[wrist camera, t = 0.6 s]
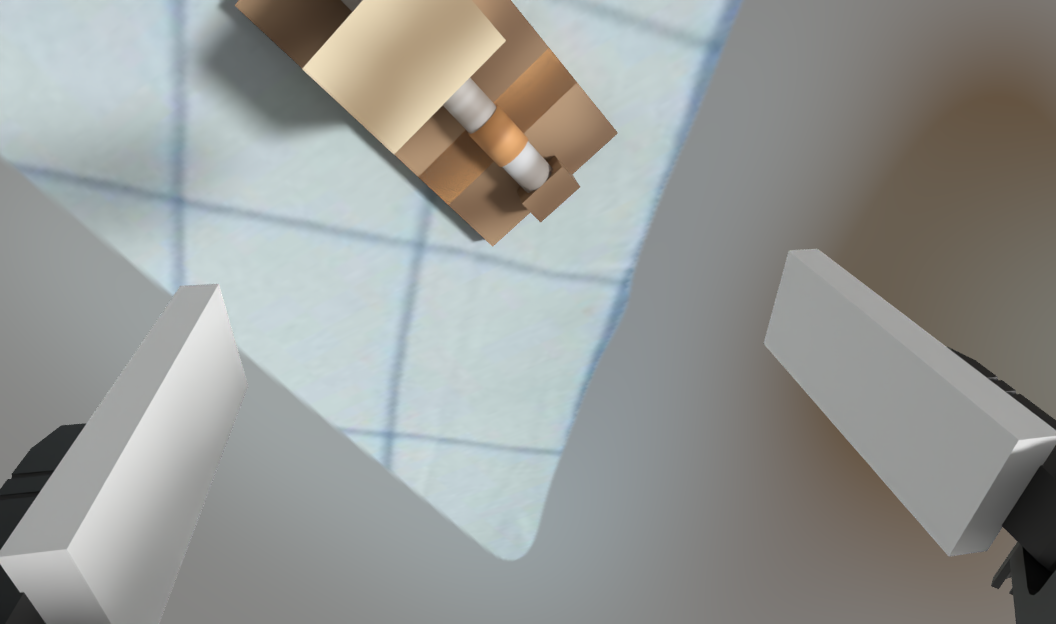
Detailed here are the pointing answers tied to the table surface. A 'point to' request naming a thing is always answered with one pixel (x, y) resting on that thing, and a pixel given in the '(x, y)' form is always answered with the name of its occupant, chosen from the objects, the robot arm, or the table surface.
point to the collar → (402, 61)
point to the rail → (491, 77)
